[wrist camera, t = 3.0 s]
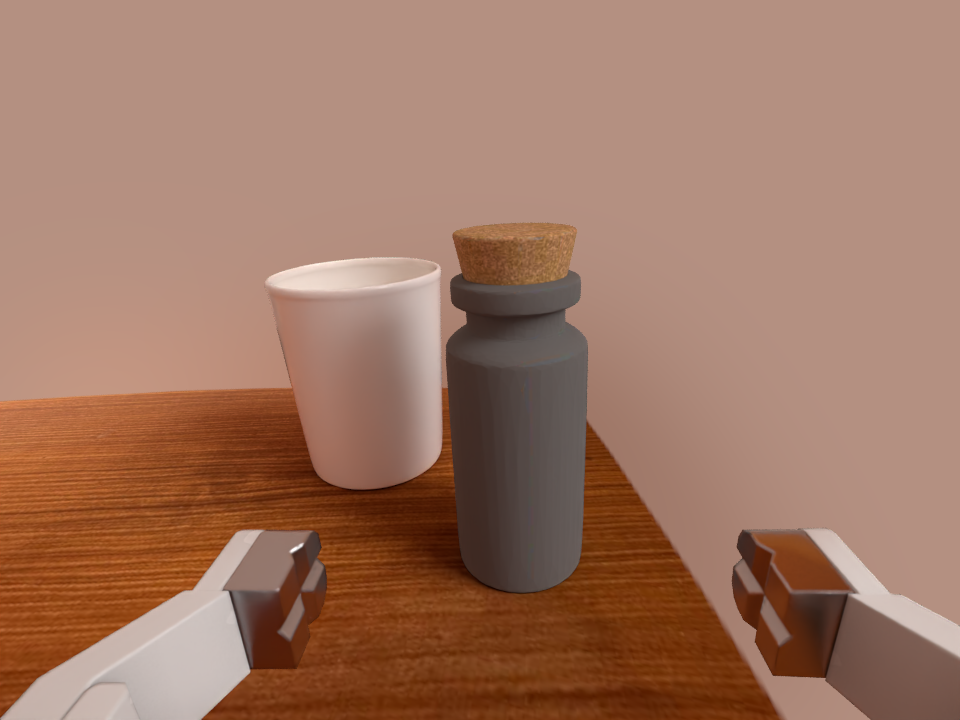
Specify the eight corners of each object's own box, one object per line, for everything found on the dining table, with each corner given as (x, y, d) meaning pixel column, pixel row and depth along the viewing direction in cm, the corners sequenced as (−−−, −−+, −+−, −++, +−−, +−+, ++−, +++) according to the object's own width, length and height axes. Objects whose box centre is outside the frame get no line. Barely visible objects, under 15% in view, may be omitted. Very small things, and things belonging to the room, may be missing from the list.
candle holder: (266, 483, 31) (222, 287, 27) (356, 413, 39) (333, 256, 35) (411, 512, 28) (387, 294, 23) (475, 428, 36) (466, 257, 32)
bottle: (547, 499, 28) (548, 217, 23) (606, 572, 23) (624, 229, 18) (445, 526, 26) (420, 227, 21) (483, 611, 21) (463, 244, 16)
